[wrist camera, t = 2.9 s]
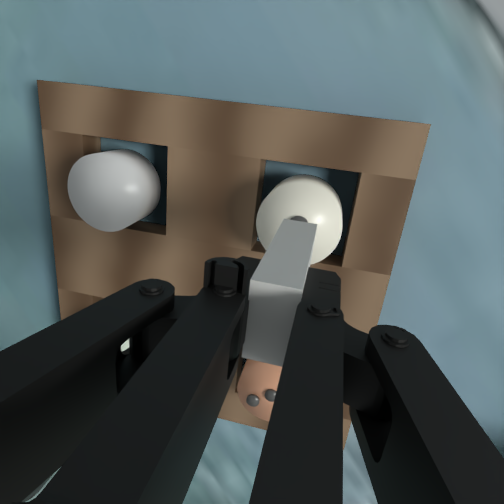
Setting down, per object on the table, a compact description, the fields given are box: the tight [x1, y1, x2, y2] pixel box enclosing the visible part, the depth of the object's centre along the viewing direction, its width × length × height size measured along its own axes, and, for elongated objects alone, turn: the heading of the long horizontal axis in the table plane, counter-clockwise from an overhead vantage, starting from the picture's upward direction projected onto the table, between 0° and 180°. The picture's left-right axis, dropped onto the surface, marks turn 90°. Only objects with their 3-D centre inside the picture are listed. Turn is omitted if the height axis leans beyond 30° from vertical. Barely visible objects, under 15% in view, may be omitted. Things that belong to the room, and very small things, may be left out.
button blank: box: [68, 149, 161, 232], centre depth 24 cm, size 5×5×3 cm
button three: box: [237, 359, 282, 421], centre depth 27 cm, size 5×5×3 cm
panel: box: [37, 80, 431, 450], centre depth 27 cm, size 24×24×2 cm
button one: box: [256, 174, 342, 265], centre depth 22 cm, size 5×5×3 cm
